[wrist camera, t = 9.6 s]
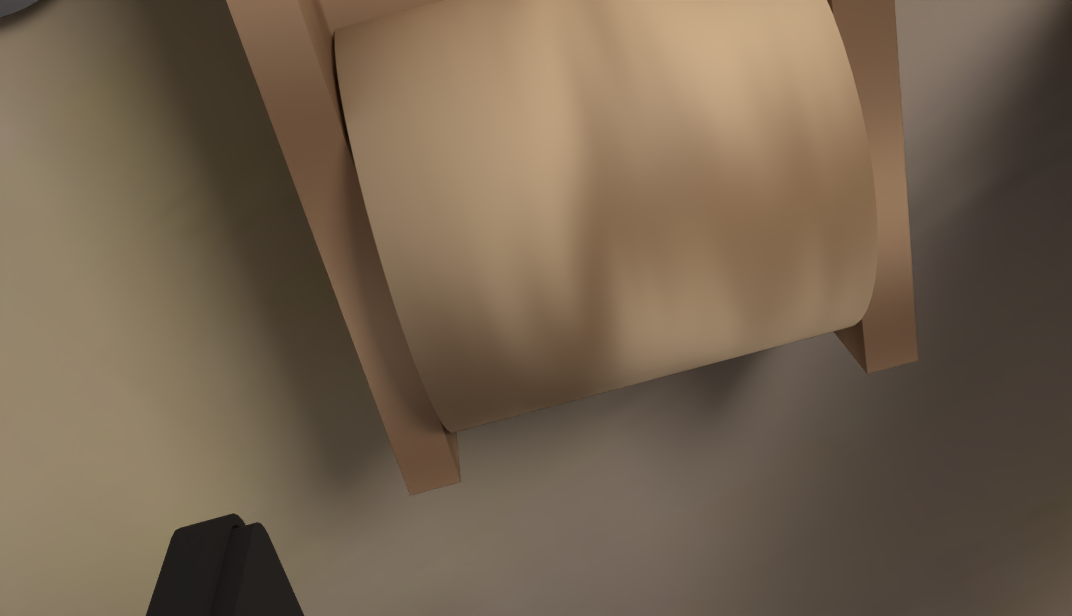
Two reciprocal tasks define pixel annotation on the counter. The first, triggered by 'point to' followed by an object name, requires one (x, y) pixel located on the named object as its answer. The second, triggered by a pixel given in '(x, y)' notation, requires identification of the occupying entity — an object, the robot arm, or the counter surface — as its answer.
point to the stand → (13, 6)
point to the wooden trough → (587, 191)
